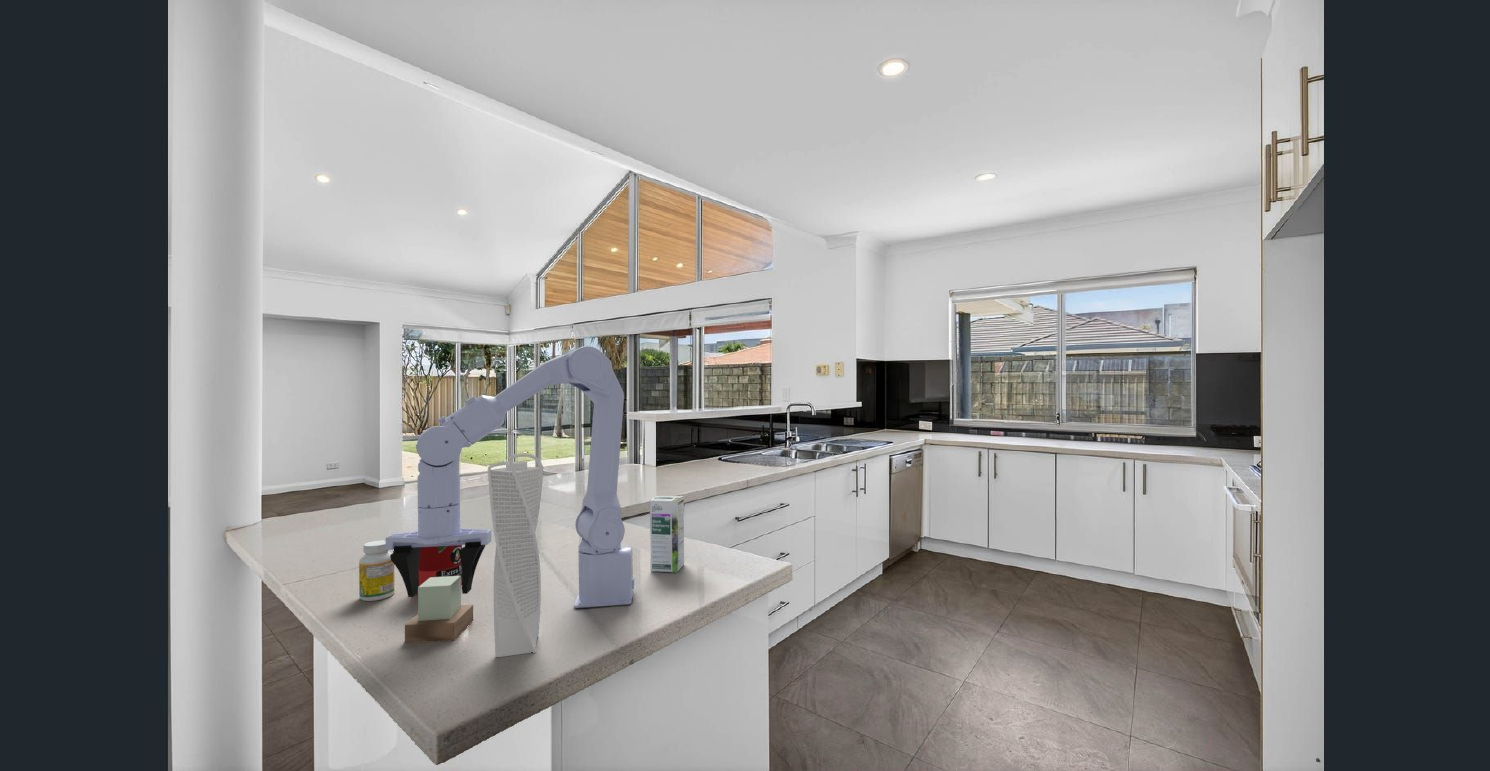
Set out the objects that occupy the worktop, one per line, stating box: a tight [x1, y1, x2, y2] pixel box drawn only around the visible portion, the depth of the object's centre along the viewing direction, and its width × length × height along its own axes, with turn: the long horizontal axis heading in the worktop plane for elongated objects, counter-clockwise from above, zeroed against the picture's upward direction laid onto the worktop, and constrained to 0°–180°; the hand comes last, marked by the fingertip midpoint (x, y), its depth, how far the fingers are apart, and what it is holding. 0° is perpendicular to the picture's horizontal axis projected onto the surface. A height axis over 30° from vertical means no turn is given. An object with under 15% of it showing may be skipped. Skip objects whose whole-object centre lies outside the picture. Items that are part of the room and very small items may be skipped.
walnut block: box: [404, 604, 474, 644], centre depth 86 cm, size 7×7×3 cm
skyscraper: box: [487, 452, 544, 658], centre depth 81 cm, size 8×8×28 cm
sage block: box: [417, 576, 462, 621], centre depth 87 cm, size 4×4×5 cm
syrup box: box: [649, 495, 685, 573], centre depth 116 cm, size 6×6×14 cm
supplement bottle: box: [358, 539, 396, 602], centre depth 102 cm, size 5×5×10 cm
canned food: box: [416, 527, 463, 596], centre depth 104 cm, size 8×8×11 cm
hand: (440, 593), depth 86 cm, fingers open, 7 cm apart
